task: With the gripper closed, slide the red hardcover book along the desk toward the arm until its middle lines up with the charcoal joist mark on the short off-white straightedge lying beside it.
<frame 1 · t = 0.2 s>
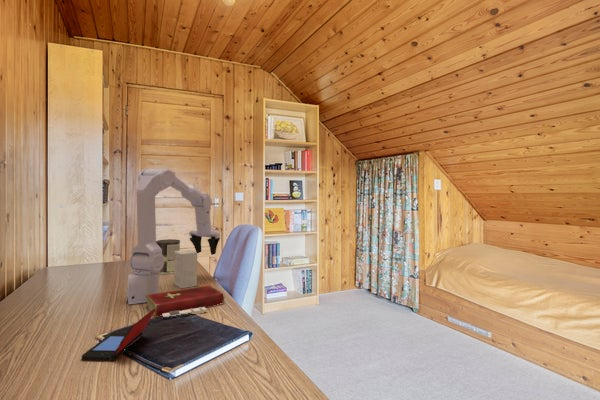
hand: (206, 253, 138), 10 cm above the table, tool pointing down, fingers open, 7 cm apart
hardcover book: (185, 307, 104), on the table
coffee can: (167, 272, 149), on the table
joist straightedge: (185, 314, 95), on the table
small box: (185, 285, 127), on the table
handheld game console: (121, 349, 74), on the table
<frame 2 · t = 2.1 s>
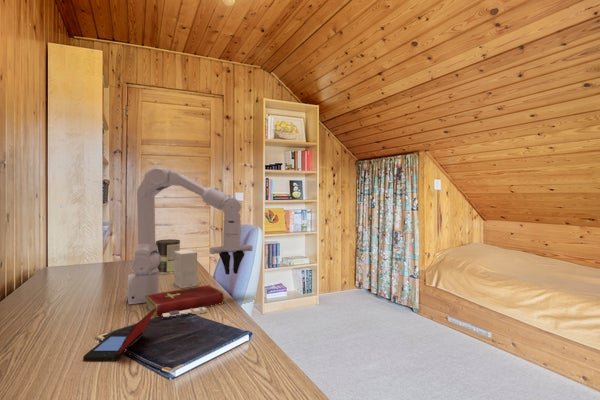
hand: (231, 273, 111), 8 cm above the table, tool pointing down, fingers closed
nothing on the table moved.
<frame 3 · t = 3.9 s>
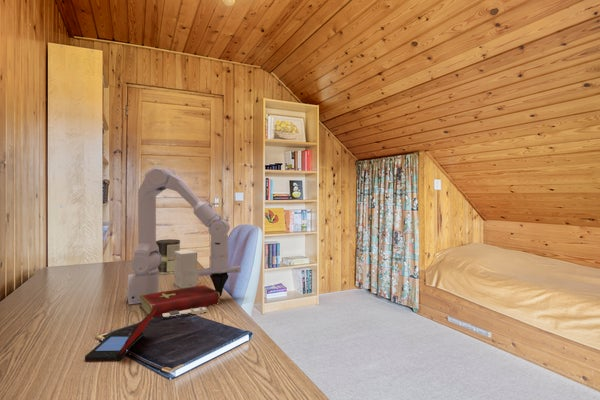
hand: (218, 295, 109), 1 cm above the table, tool pointing down, fingers closed
hardcover book: (180, 307, 103), on the table, touching gripper
everything else where it was.
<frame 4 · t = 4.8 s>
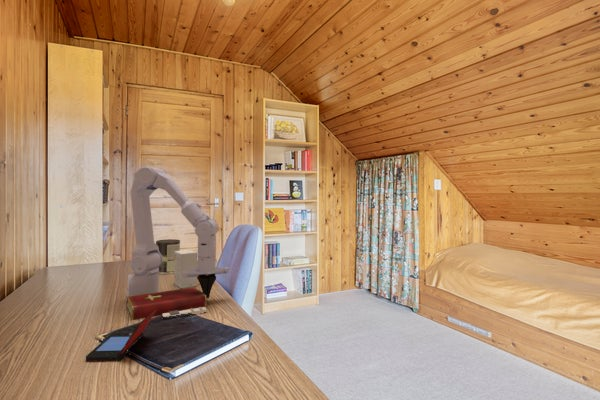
hand: (206, 297, 107), 1 cm above the table, tool pointing down, fingers closed
hardcover book: (166, 309, 101), on the table
everything else where it was.
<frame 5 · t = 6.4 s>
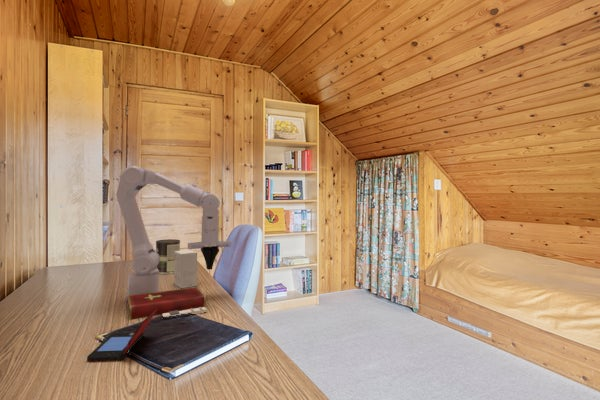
hand: (209, 268, 113), 10 cm above the table, tool pointing down, fingers closed
nothing on the table moved.
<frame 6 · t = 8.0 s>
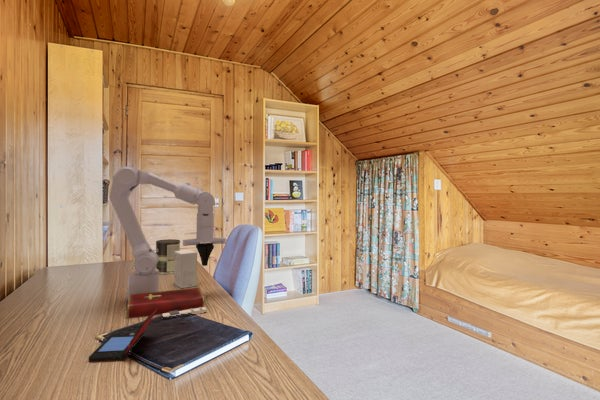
hand: (204, 265, 115), 10 cm above the table, tool pointing down, fingers closed
at the end: hardcover book 1.0 cm from the target spot, on the table; hardcover book moved 5.6 cm from its start; hardcover book tilted 0° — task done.
